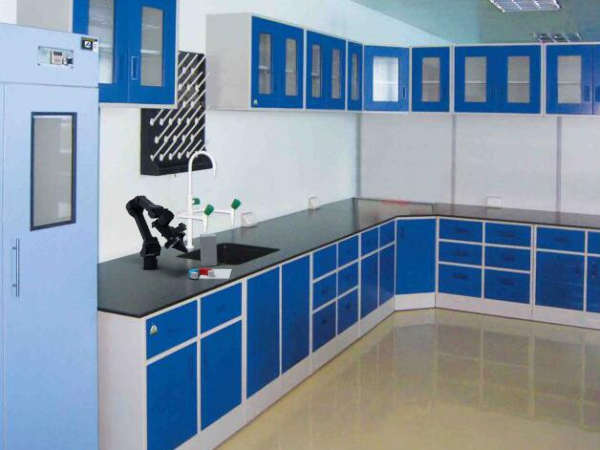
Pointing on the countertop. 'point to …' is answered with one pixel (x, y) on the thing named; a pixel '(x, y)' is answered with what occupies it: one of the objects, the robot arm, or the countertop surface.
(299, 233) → the countertop surface
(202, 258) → the skincare box
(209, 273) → the magnet
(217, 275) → the white paper sheet
